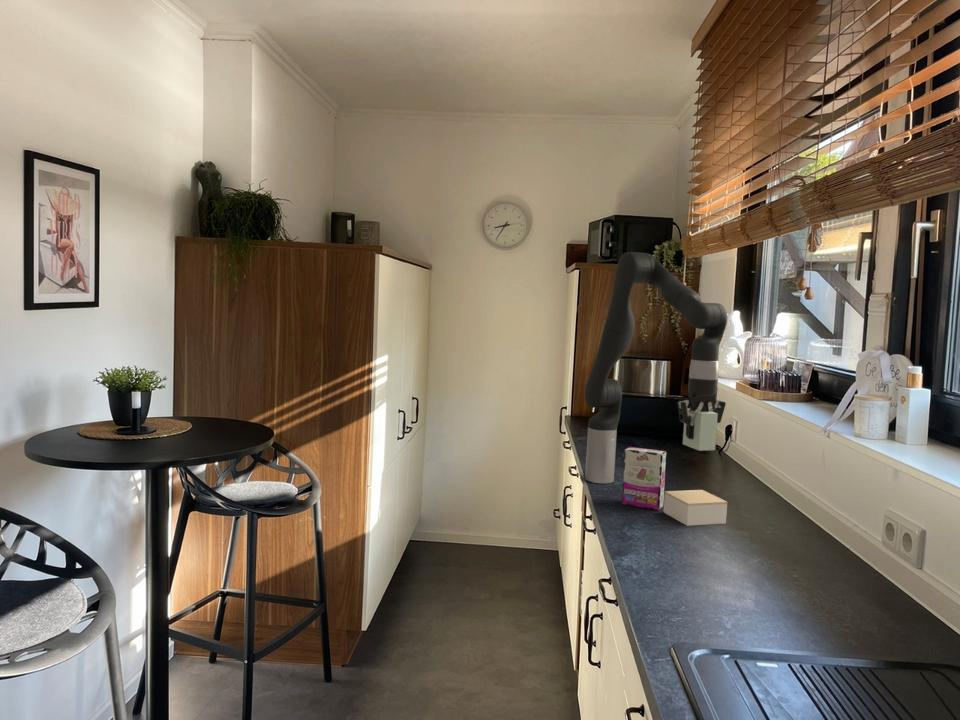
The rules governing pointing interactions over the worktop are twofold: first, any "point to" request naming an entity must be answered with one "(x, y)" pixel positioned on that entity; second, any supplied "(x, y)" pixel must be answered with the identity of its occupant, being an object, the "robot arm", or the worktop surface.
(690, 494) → the podium
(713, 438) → the sage carton
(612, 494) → the worktop surface
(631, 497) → the candy bar box
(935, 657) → the worktop surface
